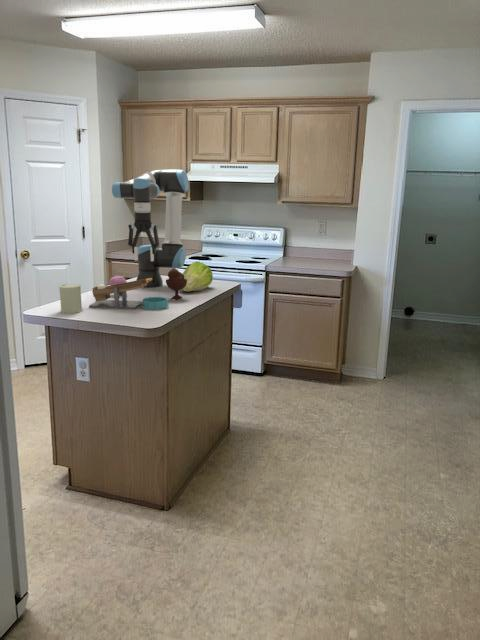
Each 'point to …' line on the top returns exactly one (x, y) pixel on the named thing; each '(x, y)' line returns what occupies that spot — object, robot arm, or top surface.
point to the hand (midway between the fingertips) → (144, 260)
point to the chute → (105, 292)
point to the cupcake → (117, 280)
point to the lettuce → (197, 276)
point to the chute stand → (117, 302)
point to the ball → (101, 286)
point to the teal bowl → (155, 303)
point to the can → (70, 298)
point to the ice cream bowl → (176, 282)
